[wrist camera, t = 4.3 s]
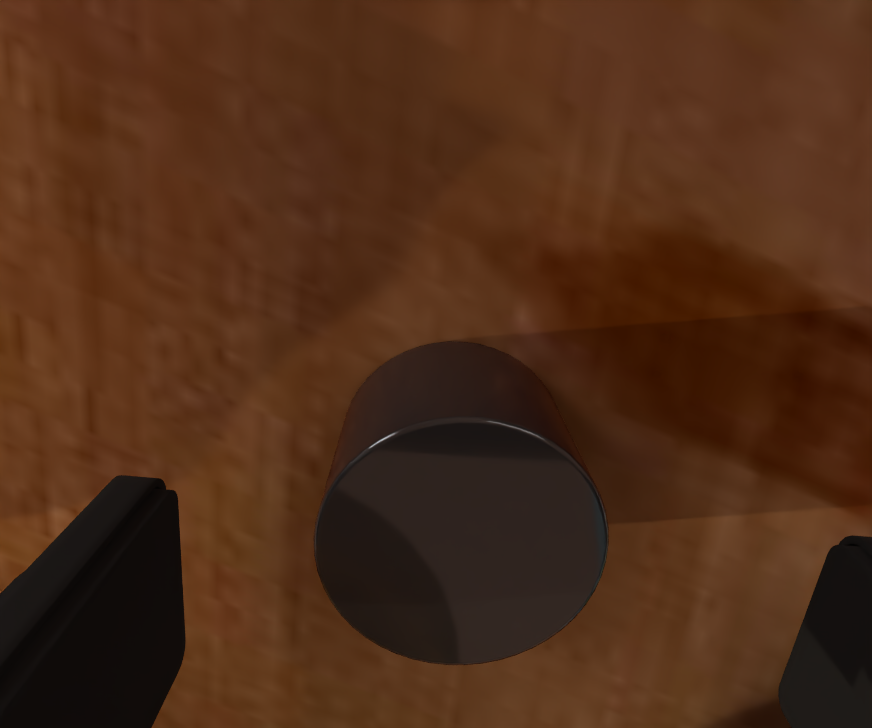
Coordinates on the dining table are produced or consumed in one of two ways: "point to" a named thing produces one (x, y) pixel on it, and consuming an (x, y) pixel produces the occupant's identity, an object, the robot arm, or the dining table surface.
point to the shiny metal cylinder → (458, 509)
